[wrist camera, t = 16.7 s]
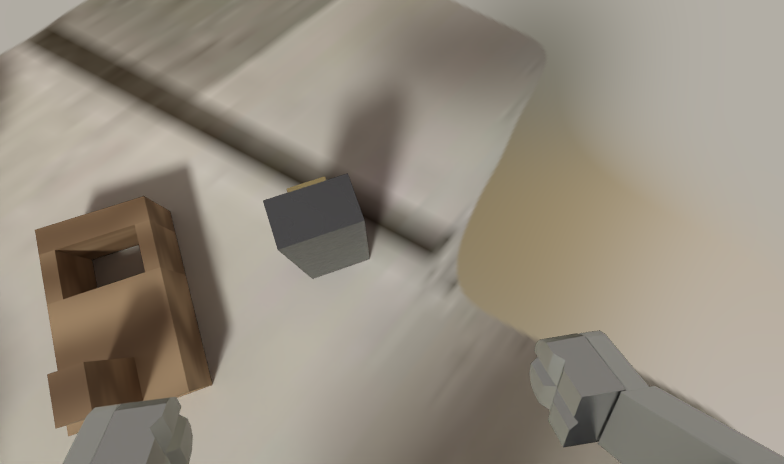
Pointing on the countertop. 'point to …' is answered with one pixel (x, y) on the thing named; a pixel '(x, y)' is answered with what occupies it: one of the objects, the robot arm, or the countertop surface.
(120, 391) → the hand plane
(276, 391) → the countertop surface
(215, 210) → the countertop surface
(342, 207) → the lever cap
